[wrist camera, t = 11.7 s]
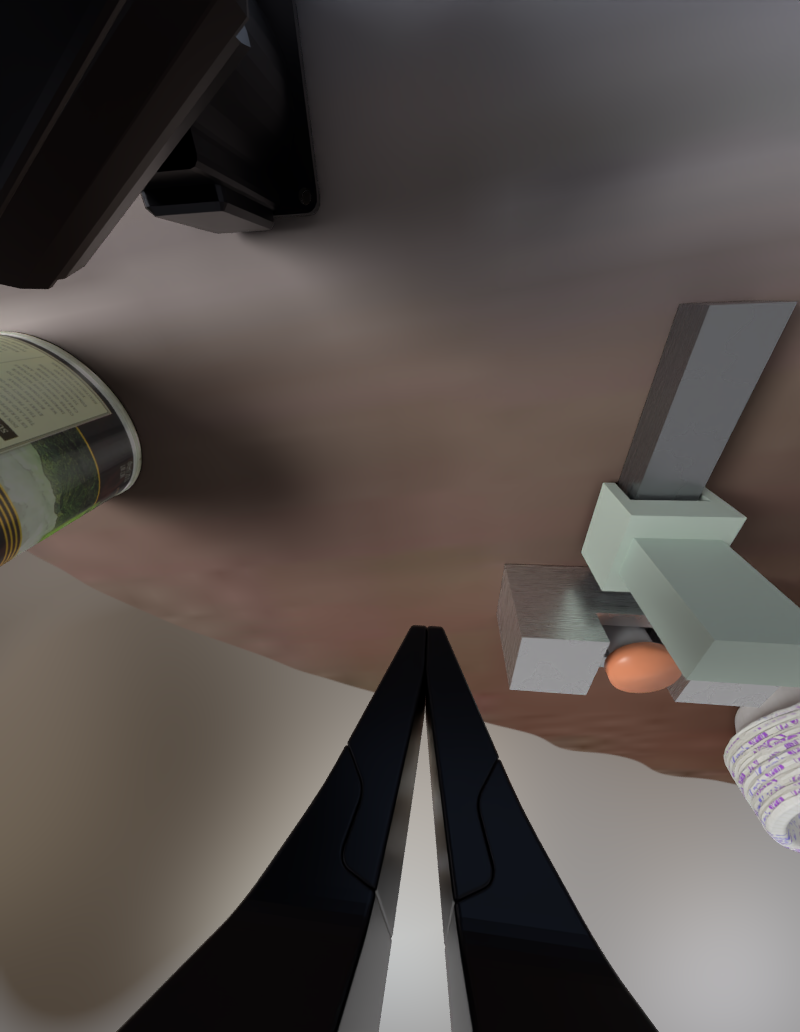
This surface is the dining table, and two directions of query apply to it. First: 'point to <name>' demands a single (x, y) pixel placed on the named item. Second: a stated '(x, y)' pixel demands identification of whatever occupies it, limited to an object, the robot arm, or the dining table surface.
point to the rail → (699, 395)
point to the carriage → (695, 587)
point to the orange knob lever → (638, 661)
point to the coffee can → (56, 442)
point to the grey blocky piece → (581, 635)
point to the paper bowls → (770, 763)
